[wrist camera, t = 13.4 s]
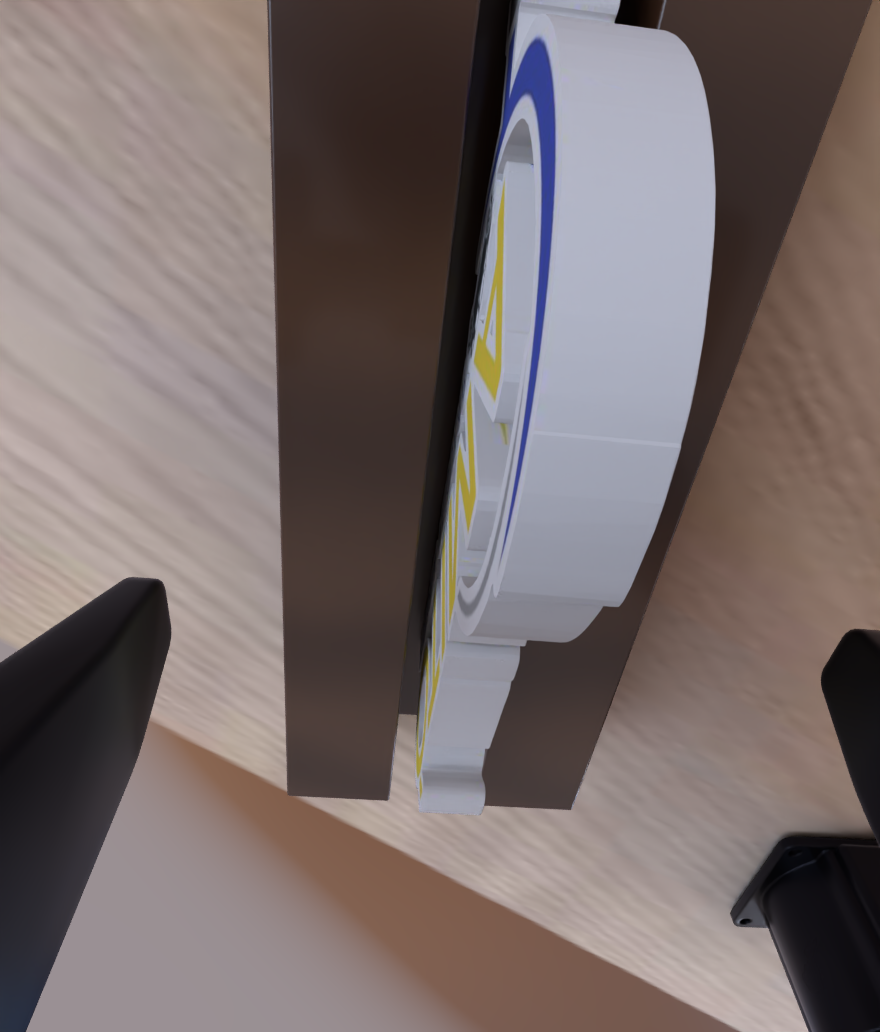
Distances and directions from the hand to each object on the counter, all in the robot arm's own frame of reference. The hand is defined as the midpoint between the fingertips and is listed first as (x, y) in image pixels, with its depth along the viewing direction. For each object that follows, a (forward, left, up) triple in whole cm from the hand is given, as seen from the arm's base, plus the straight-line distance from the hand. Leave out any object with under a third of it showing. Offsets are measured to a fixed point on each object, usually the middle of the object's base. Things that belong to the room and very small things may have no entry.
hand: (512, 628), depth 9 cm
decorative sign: (0, 0, -8) cm, 8 cm away
